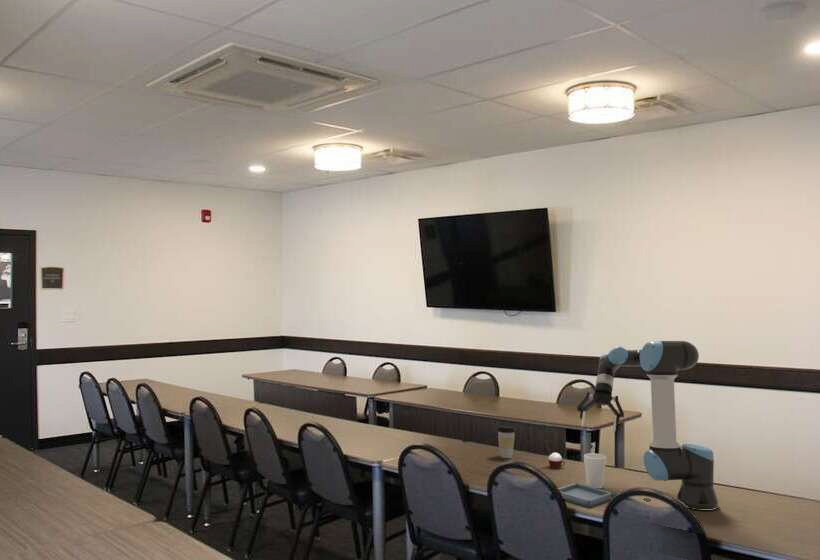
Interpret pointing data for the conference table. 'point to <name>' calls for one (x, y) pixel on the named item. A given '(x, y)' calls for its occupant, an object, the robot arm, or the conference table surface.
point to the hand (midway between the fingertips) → (598, 427)
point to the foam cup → (594, 469)
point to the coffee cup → (506, 440)
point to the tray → (585, 495)
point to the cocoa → (554, 458)
